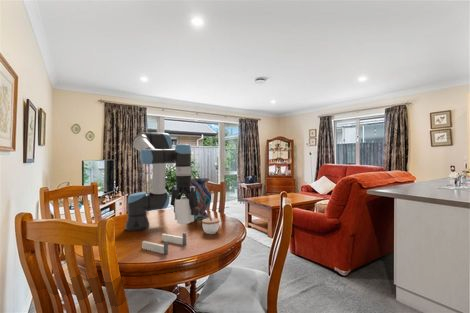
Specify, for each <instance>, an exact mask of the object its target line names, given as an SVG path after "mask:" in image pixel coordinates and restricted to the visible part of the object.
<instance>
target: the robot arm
mask: <svg viewBox="0 0 470 313" xmlns="http://www.w3.org/2000/svg"><path fill="white" fill-rule="evenodd" d="M132 146H133V147H134V149H135V150H136V151H138V152H139V160H140V163H141V164H142V165H143V164H144V165H152V176H151V177H152V178H151V181H152V182H151V189H150V190H149V193H147V192H146V191H140V192H134V193H132V194H129V195H128V196H127V220H126V222H125V226H124V229H125V231H127V232H137V231H143V230H146V229H149V227H150V222H149V219H148V216H147V212H151V211H159V210H160V211H162V210H164V209H167V208H168V207H169V204H170V206H173V213H174V221H177V217H176V210H175V198H176V199H177V200H180V199H181V197H183V196H182V195H184V197H186V198H187V199H189V205H190V209H189V222H190V223H192V222H194V221H195V219H194V215H195V208H196V207H198V201H197V195H196V187H192V184H191V179H192V148H191V145H190V144H188V143H179V144H176V145H175V147H174V148H173V141H172V137H171V135H170V134H169V133H167V132H149V131H146V132H145V131H144V132H141V133H139V134H137V135H135V136H134V138H133V140H132ZM167 164H175V184H176V185H173V186H171V198H170V193H169V192H168V190H167V189H166V169H167V168H166V167H167ZM190 191H191V192H190Z"/></svg>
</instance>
